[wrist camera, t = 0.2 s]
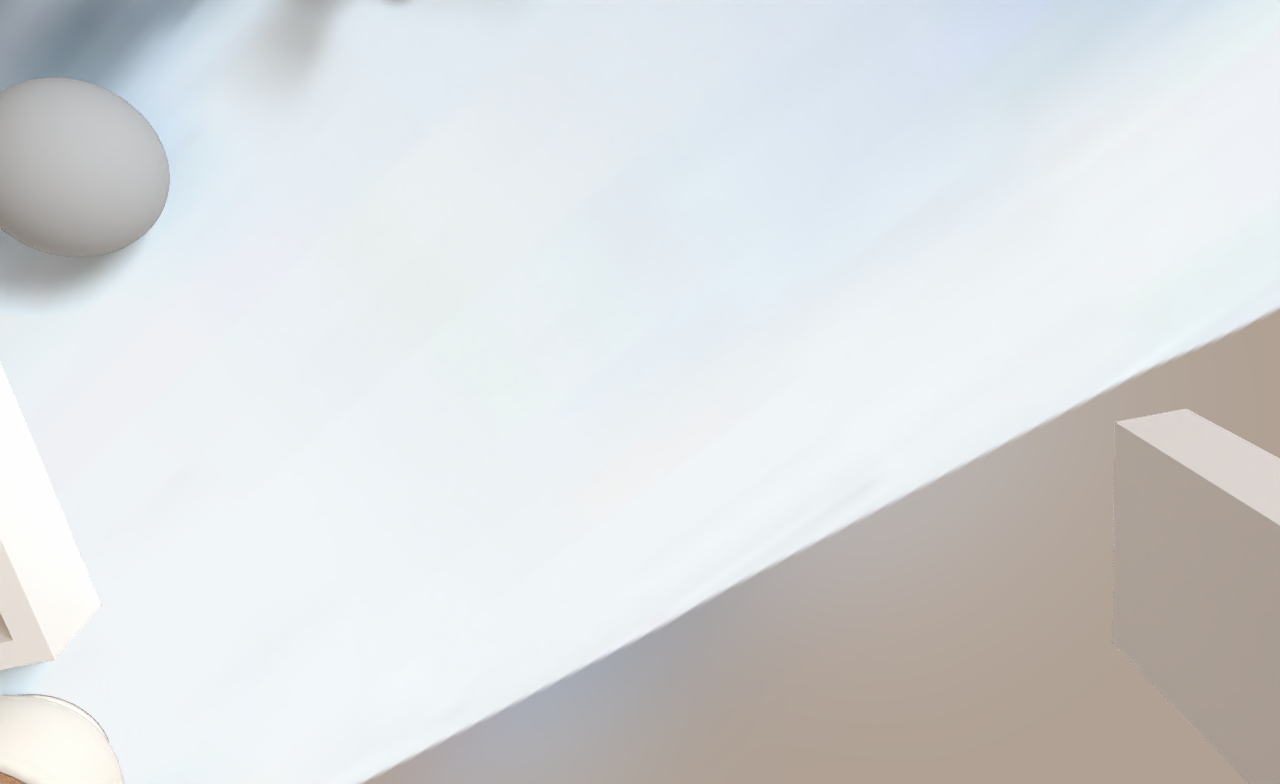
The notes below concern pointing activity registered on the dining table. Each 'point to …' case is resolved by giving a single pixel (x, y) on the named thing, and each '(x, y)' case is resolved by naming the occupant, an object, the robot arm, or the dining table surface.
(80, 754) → the lidded jar
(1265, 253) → the dining table surface
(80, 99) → the ball
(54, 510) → the square serving dish
